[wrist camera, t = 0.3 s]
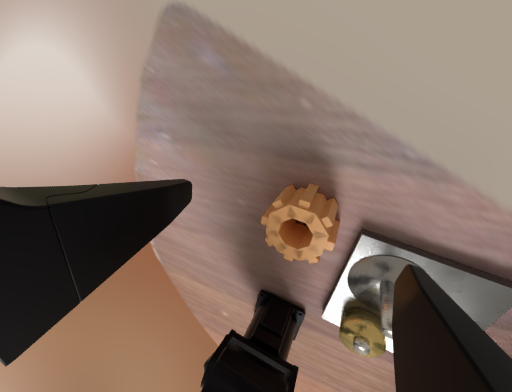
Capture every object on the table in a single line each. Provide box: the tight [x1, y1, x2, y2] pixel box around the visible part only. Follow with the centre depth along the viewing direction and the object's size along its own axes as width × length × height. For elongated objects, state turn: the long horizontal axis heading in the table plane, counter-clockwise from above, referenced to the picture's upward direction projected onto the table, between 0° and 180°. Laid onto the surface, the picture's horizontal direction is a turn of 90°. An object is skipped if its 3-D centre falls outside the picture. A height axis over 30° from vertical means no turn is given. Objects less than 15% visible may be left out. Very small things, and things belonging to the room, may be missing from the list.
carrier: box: [321, 229, 512, 357], centre depth 20 cm, size 13×12×6 cm
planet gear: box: [261, 183, 340, 264], centre depth 22 cm, size 7×7×4 cm
